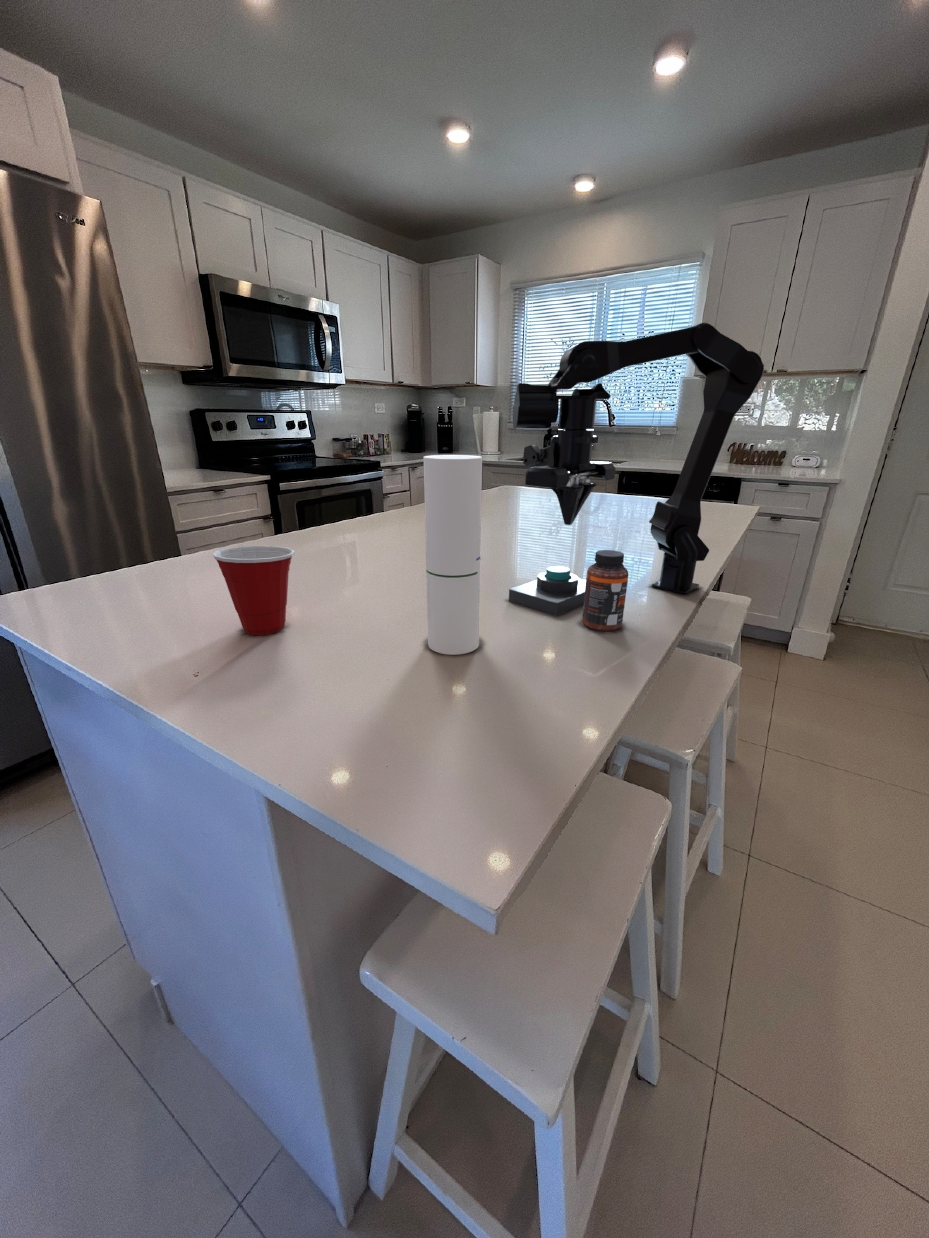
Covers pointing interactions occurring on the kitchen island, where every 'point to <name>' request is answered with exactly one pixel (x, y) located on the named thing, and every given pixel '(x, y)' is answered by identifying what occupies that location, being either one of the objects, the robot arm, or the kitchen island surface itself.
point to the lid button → (558, 573)
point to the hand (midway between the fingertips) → (568, 524)
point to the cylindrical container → (453, 551)
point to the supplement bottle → (605, 591)
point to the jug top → (550, 594)
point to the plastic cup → (257, 585)
